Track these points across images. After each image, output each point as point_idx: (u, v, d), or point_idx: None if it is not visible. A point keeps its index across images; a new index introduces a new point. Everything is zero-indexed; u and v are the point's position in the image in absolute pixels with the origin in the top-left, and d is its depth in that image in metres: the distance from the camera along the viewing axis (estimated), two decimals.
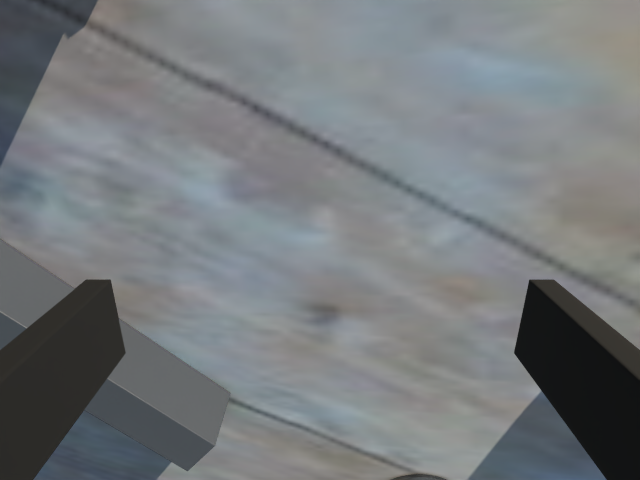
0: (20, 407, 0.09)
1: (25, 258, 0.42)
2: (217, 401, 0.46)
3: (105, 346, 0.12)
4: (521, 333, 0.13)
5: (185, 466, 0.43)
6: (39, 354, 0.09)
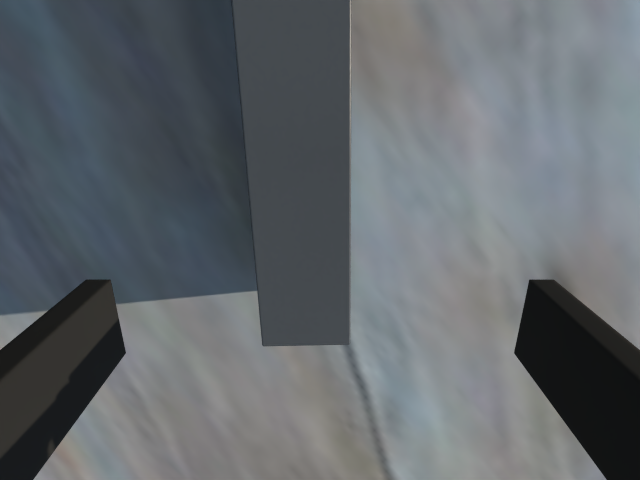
0: (20, 407, 0.09)
1: None
2: None
3: (105, 346, 0.12)
4: (520, 333, 0.13)
5: (269, 337, 0.22)
6: (39, 354, 0.09)
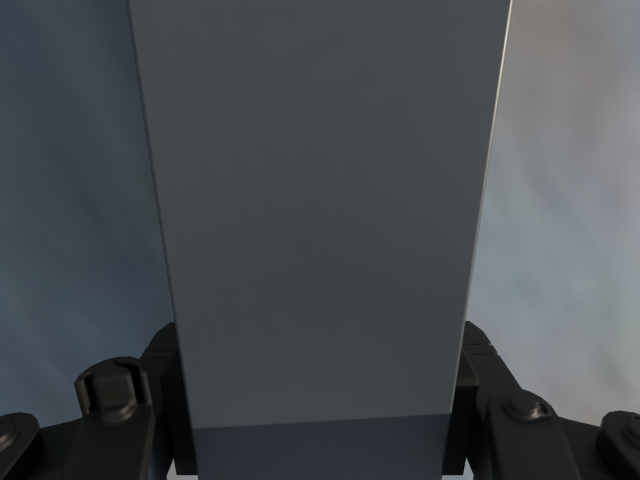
0: None
1: None
2: None
3: None
4: None
5: None
6: None
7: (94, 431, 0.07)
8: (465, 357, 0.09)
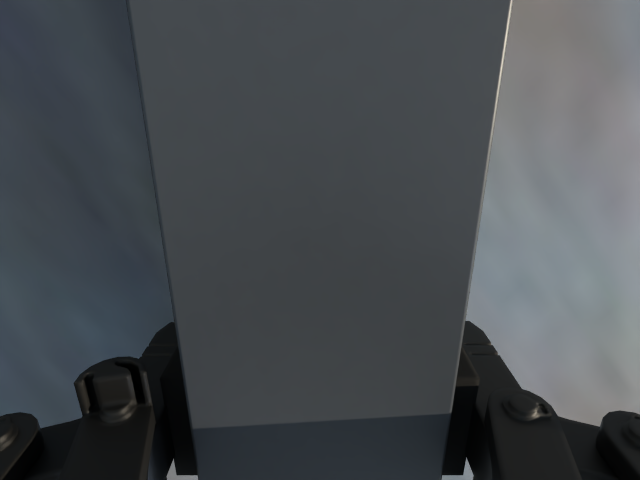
0: None
1: None
2: None
3: None
4: None
5: None
6: None
7: (94, 431, 0.07)
8: (465, 358, 0.09)
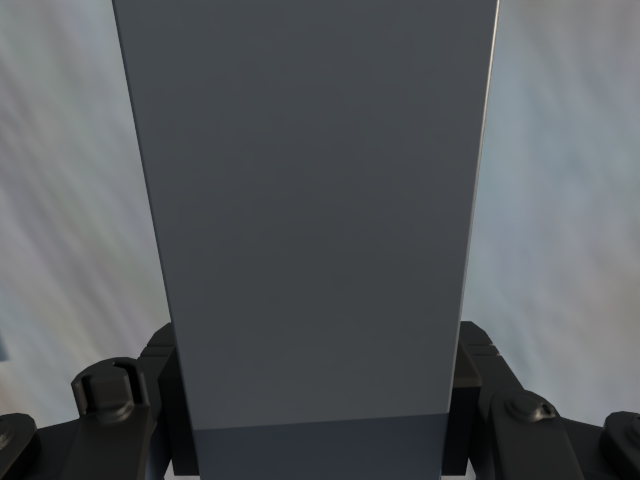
0: None
1: None
2: None
3: None
4: None
5: None
6: None
7: (91, 432, 0.07)
8: (468, 358, 0.09)
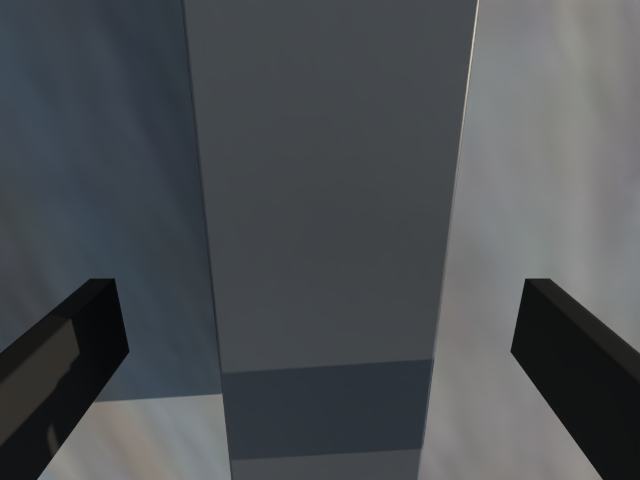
0: (26, 405, 0.09)
1: None
2: None
3: (109, 345, 0.12)
4: (517, 332, 0.13)
5: None
6: (45, 352, 0.09)
7: None
8: None
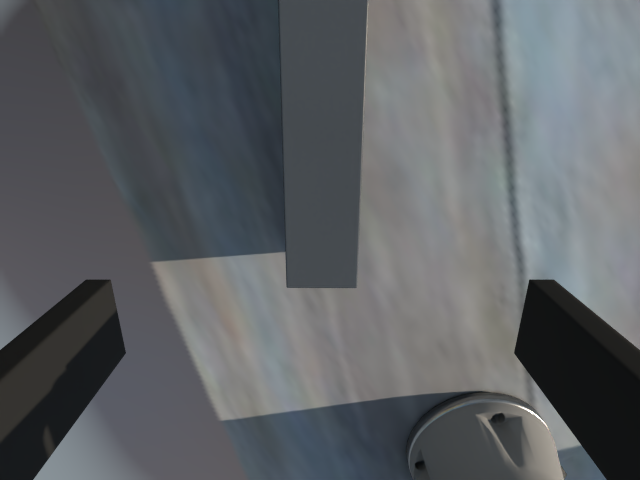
0: (20, 407, 0.09)
1: None
2: None
3: (105, 346, 0.12)
4: (521, 333, 0.13)
5: (292, 280, 0.28)
6: (39, 354, 0.09)
7: None
8: None
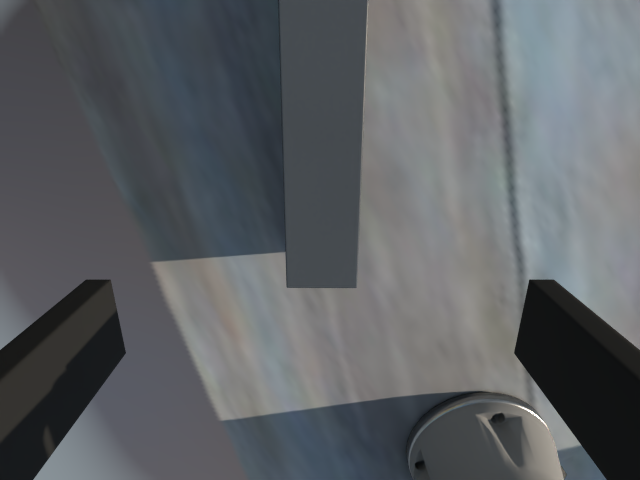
0: (20, 407, 0.09)
1: None
2: None
3: (105, 346, 0.12)
4: (521, 334, 0.13)
5: (292, 280, 0.28)
6: (39, 354, 0.09)
7: None
8: None
